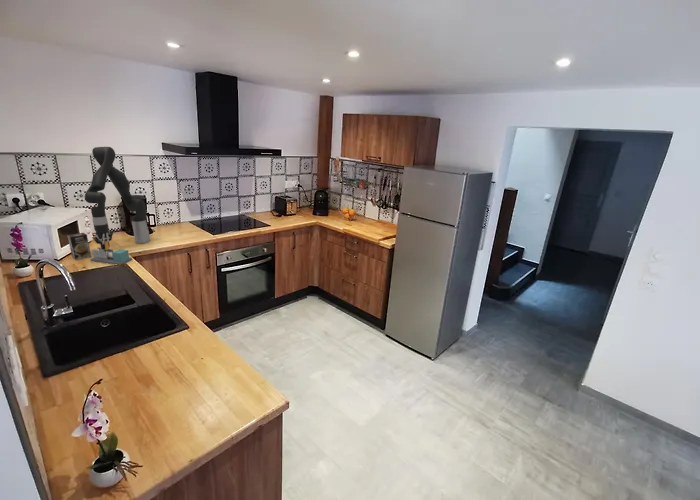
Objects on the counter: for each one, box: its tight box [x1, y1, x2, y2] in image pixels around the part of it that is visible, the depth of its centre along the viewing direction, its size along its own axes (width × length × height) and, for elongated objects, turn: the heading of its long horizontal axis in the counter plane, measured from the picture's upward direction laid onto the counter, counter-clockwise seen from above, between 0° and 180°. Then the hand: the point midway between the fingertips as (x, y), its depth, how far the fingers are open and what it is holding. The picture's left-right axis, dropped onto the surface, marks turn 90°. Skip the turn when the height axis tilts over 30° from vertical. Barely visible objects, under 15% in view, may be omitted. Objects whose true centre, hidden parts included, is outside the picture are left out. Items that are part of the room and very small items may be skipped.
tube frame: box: [90, 246, 133, 266], centre depth 225 cm, size 22×10×8 cm, turn 78°
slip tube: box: [101, 241, 113, 258], centre depth 224 cm, size 12×4×11 cm, turn 78°
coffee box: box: [66, 232, 92, 261], centre depth 226 cm, size 9×6×16 cm
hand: (105, 248), depth 224 cm, fingers closed on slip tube, 2 cm apart
